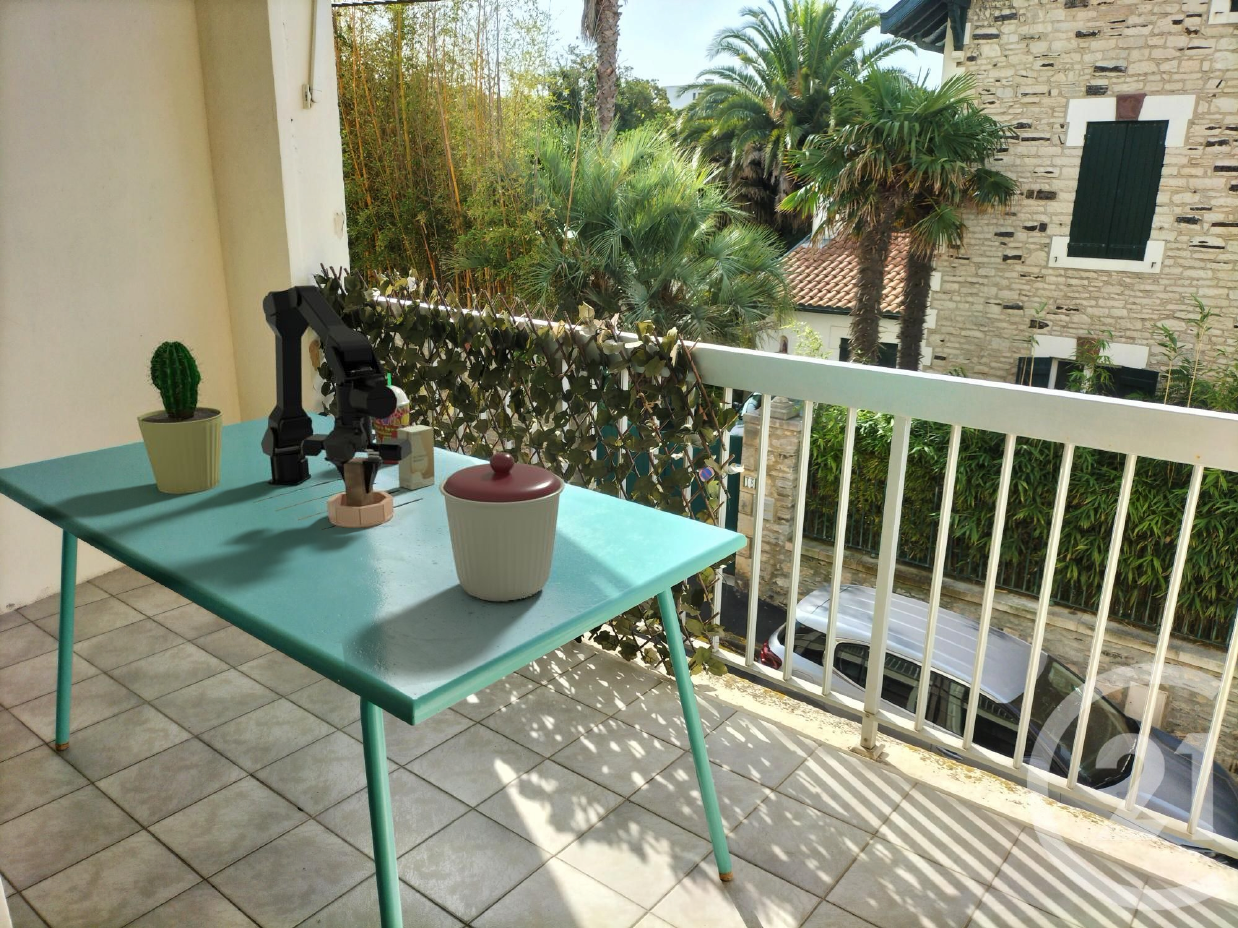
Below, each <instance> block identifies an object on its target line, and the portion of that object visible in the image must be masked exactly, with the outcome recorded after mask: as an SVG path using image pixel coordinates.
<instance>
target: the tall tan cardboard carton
mask: <svg viewBox="0 0 1238 928" xmlns="http://www.w3.org/2000/svg"><path fill="white" fill-rule="evenodd" d="M366 458H367V457H363V456H354V457H353V459H352V460H350V461H348V462H347V463H345V464H344V476H345V483H344V488H345V492H346V505H347V506H352V507H362V506H368V505H373V504H374V496H373V490H374V485H373V486H372V489H371V492H370V493H369V494H367V493H366V488H365V466H364V464H363V462H362V461H363V460H365V459H366Z"/></svg>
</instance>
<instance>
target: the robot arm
mask: <svg viewBox="0 0 1238 928" xmlns="http://www.w3.org/2000/svg"><path fill="white" fill-rule="evenodd" d="M262 310H263V312H264V315H265V321H266V323H267V325H268V327H269V328H270V329H271V331H272V332H273V333H274V338H275V339H274V340H275V342H274V343H275V345H274V346H275V347H274V349H275V380H276V381H275V385H276V387H275V389H276V390H275V392H276V404H275V406H274V408H273V409H272V411H271V412H270V413H269V415H268V419H267V428H266V430H265V432H264V435H263V438H262V439H261V441H260V445H261V450H262V453H263V454H265V455H266V456H268V457H269V461H270V471H271V472H270V474H271V478H270V479H269V480H267V483H268V484H275V485H289V486H290V485H292V486H293V485H294V486H297V485H299V484H301V483H303V482H305V481H306V480H309V478H311V477H312V474H311V473H310V468H309V459H308V457H318V456H319V455H320V454H321V453H322V451H324V452H325V457H324V458H323V459H324V460H325V462H330V463H331V464H332V465H334V466H335V468H336V469H337V471H338V473H339V474H340V477H341V479H342V481H343V483H344V484H345V476H344V464H345V463H347V462H348V461H350V460H352V459H353V458H355V457H356V453H366V455H367V457H365V458H366V459H365V460H363V461H362V462H363V464H364V466H365V488H366V493H367V494H369V493H370V492H371V489H372V486H373V487H374V484H375V481H376V478H377V475H378V473H379V470H380V467H382V463H383V461H384V460H387V461H401V460H403V459H404V458H406V457H407V456H408V455H410V454H411V453H412V446H411V443H410V441H409V440H408V439H401V438H389V439H387V440H386V441H384V442H382V443H376V442H374V441H376V437H375V433H373V424H372V423H373V421H372V420H373V418H377V419H385V418H387V417H389V416H390V415H392V413H393V412H394V411H395V409H396V406H397V397H396V395H395V393H394V391H393V390H392V389H391V388H389V387H387V386H388V385H386V378H385V372H384V369H385V367H384V366H383V364H382V362H381V360H380V358H379V356H378V354H377V351H376V349H375V347H374V346H373V345H372V343H371V341H370V340H369V339H368V338H367V337H366V336H364V334H362V333H361V332H360V331H358V330H355V329H352V328H350V327H348V326H347V325H346V324H345V323H344V321H343V320H342V319H341V317H340V316H339V315H338V314H337V313H336V311H335V310H334V309H333V307H332V306H331V304H329V303H328V301H327V300H326V299H325V297H324V296H323V293H322V289H321V288H320V286H316V285H315V284H314V285H313V284H310V285H306V284H305V285H294V286H292V287H289V288H288V289H284V290H275V291H269V292H268V293H267V295H265V296H264V298H263V300H262ZM309 327H311V328H312V330H313V332H315V333H316V335H317V337H319V339H320V340H321V341H322V343H323V345H324V347H325V349H324V354H323V356H324V358H325V359H326V362H327V365H328V367H329V368H330V370H331V371H332V373H333V374H332V376H331V379H330V380H331V381H332V382H334V383H335V393H336V406H337V407H336V409H337V410H336V411H337V416H335V417H334V421H333V423H334V425H333V430H331V431H330V432H329V433H328V434H327V433H326V434H325V433H314V428H313V419H312V417H311V416H309V415H308V413H307V411H305V409H304V408H303V377H302V375H303V370H302V369H303V365H302V364H303V361H302V360H303V359H302V357H303V356H302V355H303V354H302V347H303V346H302V342H303V341H302V339H303V336H304V334H305V333H306V331H307V330H308V328H309Z"/></svg>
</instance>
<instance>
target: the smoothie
mask: <svg viewBox="0 0 1238 928" xmlns="http://www.w3.org/2000/svg"><path fill="white" fill-rule="evenodd" d="M386 375H387V385H386V386H387V387H389V388H391V389H392V390H393V391H394V393H395V395H396V397H397V406H396V409H395V411H394V412H393V413H392V415H390V416H389V417H387V418H385V419H377V418H372V420H373V427H374V434H375V438H376V439H375V443H382V442H384V441H386V440H387V439H389V438H398V434H397V429H401V428H406V427H410V402H411V401H410V400H409V398H408V395H406V393H405V392H404V391H403V390H402V388H400V387H398V386H395V385H392V379H391V376H392V375H391V373H388V372H387V374H386ZM383 462H384V464H390V463H391V464H392V463H394V464H398V461H387V460H384V461H383ZM383 462H382V463H383Z"/></svg>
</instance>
